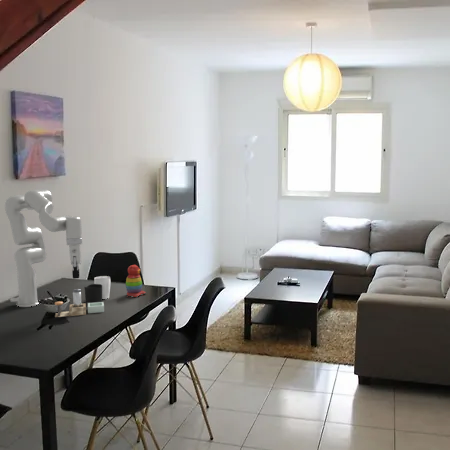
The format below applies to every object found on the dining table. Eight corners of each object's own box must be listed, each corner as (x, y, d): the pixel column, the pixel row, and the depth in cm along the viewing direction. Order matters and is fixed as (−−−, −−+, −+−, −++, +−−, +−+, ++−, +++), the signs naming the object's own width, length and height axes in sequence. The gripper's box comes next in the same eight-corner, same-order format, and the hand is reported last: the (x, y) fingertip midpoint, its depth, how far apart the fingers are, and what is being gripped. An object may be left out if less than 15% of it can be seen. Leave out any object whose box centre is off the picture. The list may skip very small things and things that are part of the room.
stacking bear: (136, 298, 315) (135, 267, 313) (122, 296, 319) (120, 266, 317) (147, 294, 324) (146, 264, 322) (133, 292, 329) (131, 262, 327)
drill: (73, 314, 280) (72, 290, 279) (74, 312, 284) (72, 289, 283) (81, 313, 281) (80, 290, 280) (82, 311, 285) (81, 288, 284)
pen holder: (83, 303, 306) (82, 285, 305) (100, 300, 310) (99, 283, 309) (87, 306, 298) (86, 288, 297) (104, 304, 302) (104, 286, 301)
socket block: (54, 318, 276) (54, 306, 275) (56, 313, 285) (55, 302, 284) (86, 316, 279) (85, 304, 279) (86, 311, 288) (85, 300, 287)
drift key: (54, 312, 278) (54, 303, 278) (55, 310, 282) (55, 301, 281) (63, 311, 279) (62, 303, 279) (63, 309, 283) (63, 301, 282)
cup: (112, 299, 313) (111, 278, 312) (96, 301, 310) (95, 279, 309) (109, 295, 322) (108, 275, 320) (93, 297, 318) (92, 276, 317)
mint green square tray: (88, 314, 282) (87, 306, 282) (88, 310, 290) (87, 303, 289) (104, 313, 284) (103, 305, 283) (103, 309, 292) (103, 302, 291)
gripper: (81, 243, 272) (83, 280, 274) (82, 239, 287) (84, 274, 289) (65, 244, 270) (67, 281, 272) (67, 239, 286) (69, 274, 288)
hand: (76, 277), depth 281 cm, fingers open, 3 cm apart
